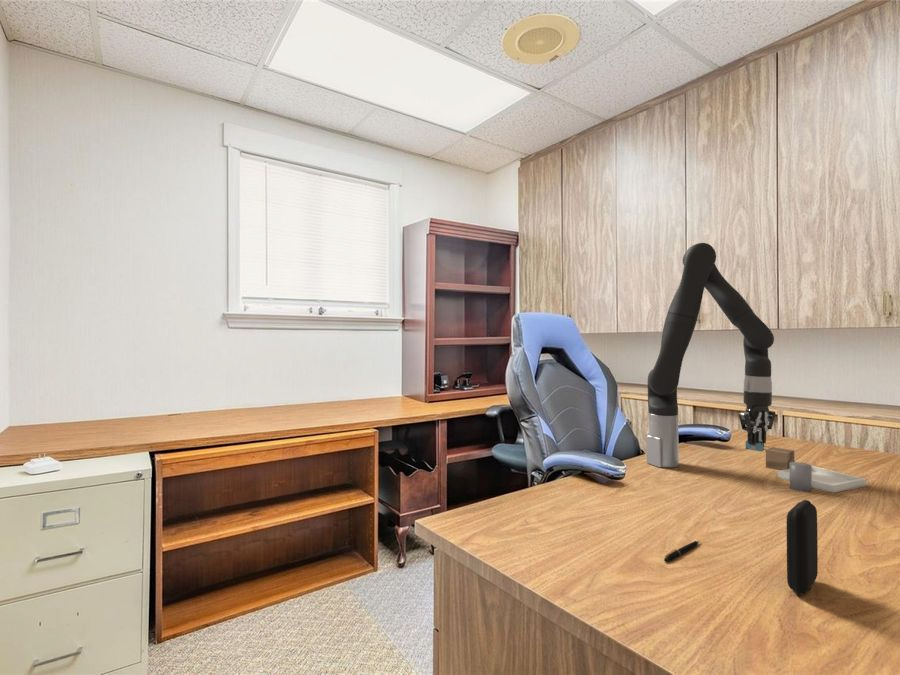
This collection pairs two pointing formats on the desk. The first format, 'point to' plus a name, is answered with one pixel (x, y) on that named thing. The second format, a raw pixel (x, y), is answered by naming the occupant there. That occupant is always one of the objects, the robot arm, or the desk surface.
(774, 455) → the walnut block
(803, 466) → the dark grey cylinder
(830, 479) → the grey tray
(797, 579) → the carrying case or bag
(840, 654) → the desk surface
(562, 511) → the desk surface
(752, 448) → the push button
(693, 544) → the fountain pen
